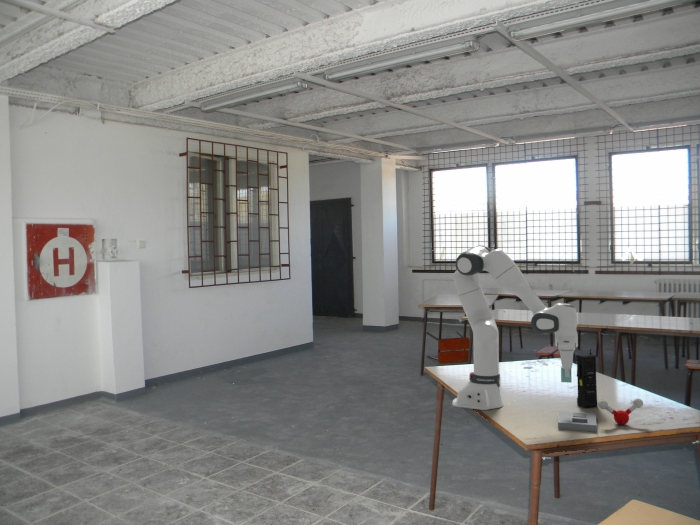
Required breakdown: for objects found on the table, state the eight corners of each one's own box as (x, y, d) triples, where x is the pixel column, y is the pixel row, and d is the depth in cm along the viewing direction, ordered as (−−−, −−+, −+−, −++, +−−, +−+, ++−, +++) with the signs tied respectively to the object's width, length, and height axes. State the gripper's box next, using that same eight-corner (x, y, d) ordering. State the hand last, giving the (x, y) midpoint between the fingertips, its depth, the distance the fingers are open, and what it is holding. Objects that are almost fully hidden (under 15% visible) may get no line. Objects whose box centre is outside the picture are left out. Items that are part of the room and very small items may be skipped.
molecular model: (640, 421, 236) (640, 397, 235) (647, 426, 230) (646, 400, 230) (596, 422, 236) (595, 398, 236) (601, 427, 230) (601, 401, 230)
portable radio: (583, 408, 256) (582, 351, 255) (574, 405, 261) (573, 349, 261) (598, 407, 258) (597, 350, 257) (589, 403, 264) (588, 348, 263)
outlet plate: (558, 428, 230) (557, 421, 230) (559, 417, 245) (558, 410, 245) (596, 431, 225) (596, 424, 225) (595, 419, 240) (595, 413, 240)
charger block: (561, 382, 243) (561, 367, 243) (561, 379, 247) (561, 365, 247) (571, 382, 242) (571, 367, 241) (571, 380, 245) (571, 365, 245)
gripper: (558, 338, 254) (559, 369, 255) (558, 346, 235) (559, 380, 236) (574, 338, 252) (575, 370, 253) (574, 346, 233) (575, 381, 233)
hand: (567, 375), depth 244 cm, fingers closed on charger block, 4 cm apart
